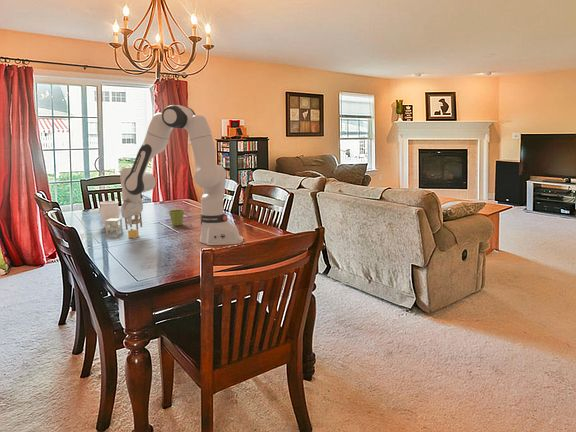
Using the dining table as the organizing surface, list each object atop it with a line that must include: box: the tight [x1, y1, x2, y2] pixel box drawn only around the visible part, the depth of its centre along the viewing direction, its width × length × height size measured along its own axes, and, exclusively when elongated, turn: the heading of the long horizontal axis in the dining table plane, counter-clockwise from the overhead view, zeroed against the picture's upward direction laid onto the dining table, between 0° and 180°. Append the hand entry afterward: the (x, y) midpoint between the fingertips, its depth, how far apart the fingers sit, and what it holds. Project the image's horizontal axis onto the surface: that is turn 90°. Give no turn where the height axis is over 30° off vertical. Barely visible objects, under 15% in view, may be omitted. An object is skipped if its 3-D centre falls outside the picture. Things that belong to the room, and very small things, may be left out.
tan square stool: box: [124, 212, 143, 231], centre depth 228 cm, size 6×6×8 cm
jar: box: [99, 200, 120, 229], centre depth 253 cm, size 11×10×15 cm
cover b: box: [105, 217, 124, 236], centre depth 236 cm, size 6×6×8 cm
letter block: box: [127, 228, 140, 239], centre depth 230 cm, size 4×4×4 cm
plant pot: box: [168, 209, 185, 227], centre depth 258 cm, size 9×9×9 cm
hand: (133, 223), depth 229 cm, fingers closed on tan square stool, 6 cm apart
